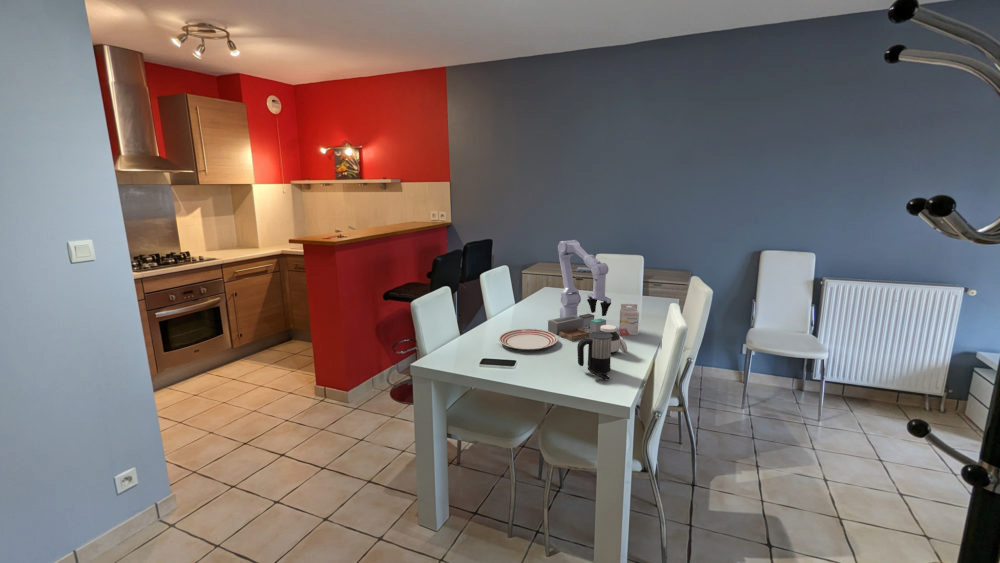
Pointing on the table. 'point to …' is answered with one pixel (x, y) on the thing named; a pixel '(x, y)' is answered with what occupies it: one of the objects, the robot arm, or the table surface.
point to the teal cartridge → (596, 324)
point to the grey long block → (564, 324)
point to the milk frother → (596, 353)
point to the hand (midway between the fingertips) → (598, 314)
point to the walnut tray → (574, 334)
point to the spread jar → (614, 339)
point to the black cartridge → (587, 319)
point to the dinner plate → (528, 339)
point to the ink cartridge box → (629, 319)
